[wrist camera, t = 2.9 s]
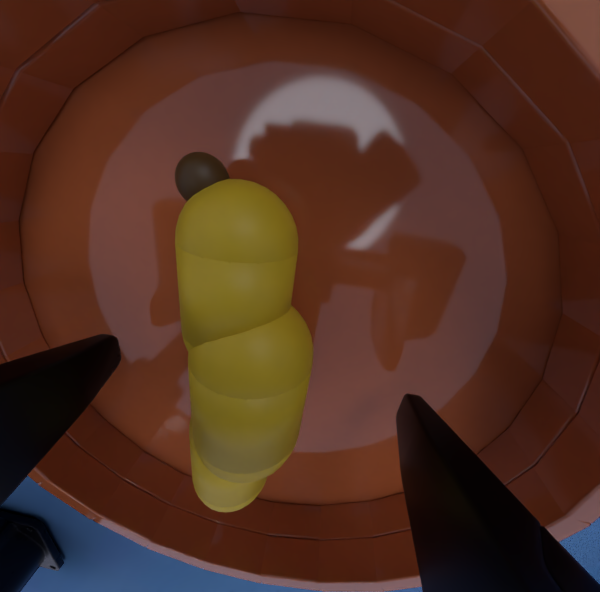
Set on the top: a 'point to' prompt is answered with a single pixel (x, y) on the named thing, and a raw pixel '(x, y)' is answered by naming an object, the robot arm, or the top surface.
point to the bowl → (315, 253)
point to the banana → (238, 331)
